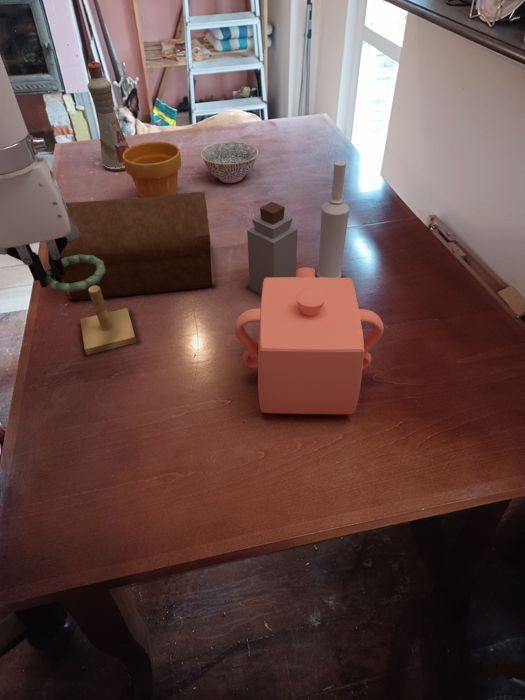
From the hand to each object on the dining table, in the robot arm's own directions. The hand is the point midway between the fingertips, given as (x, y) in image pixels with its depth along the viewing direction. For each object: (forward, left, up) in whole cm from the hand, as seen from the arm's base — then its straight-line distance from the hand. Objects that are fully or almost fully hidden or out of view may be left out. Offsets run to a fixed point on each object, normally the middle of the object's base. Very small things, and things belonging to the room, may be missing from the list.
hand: (52, 279), depth 69 cm
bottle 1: (+18, +85, -20) cm, 89 cm away
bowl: (+47, +64, -20) cm, 81 cm away
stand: (+5, +9, -20) cm, 22 cm away
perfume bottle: (+39, +11, -20) cm, 45 cm away
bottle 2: (+51, +9, -20) cm, 55 cm away
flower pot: (+25, +58, -20) cm, 66 cm away
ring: (+3, 0, 0) cm, 3 cm away
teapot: (+36, -12, -20) cm, 43 cm away
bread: (+15, +26, -20) cm, 36 cm away
